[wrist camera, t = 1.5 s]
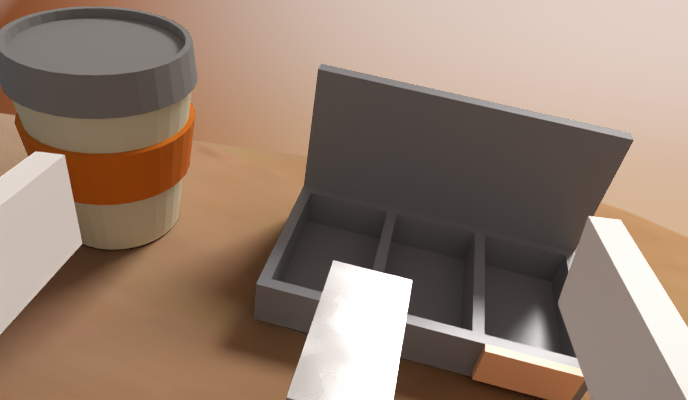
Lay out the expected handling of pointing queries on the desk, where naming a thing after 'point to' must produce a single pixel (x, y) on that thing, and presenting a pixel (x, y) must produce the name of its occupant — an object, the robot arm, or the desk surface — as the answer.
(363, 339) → the brushed metal block
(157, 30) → the reusable coffee cup
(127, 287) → the desk surface
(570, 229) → the rack
